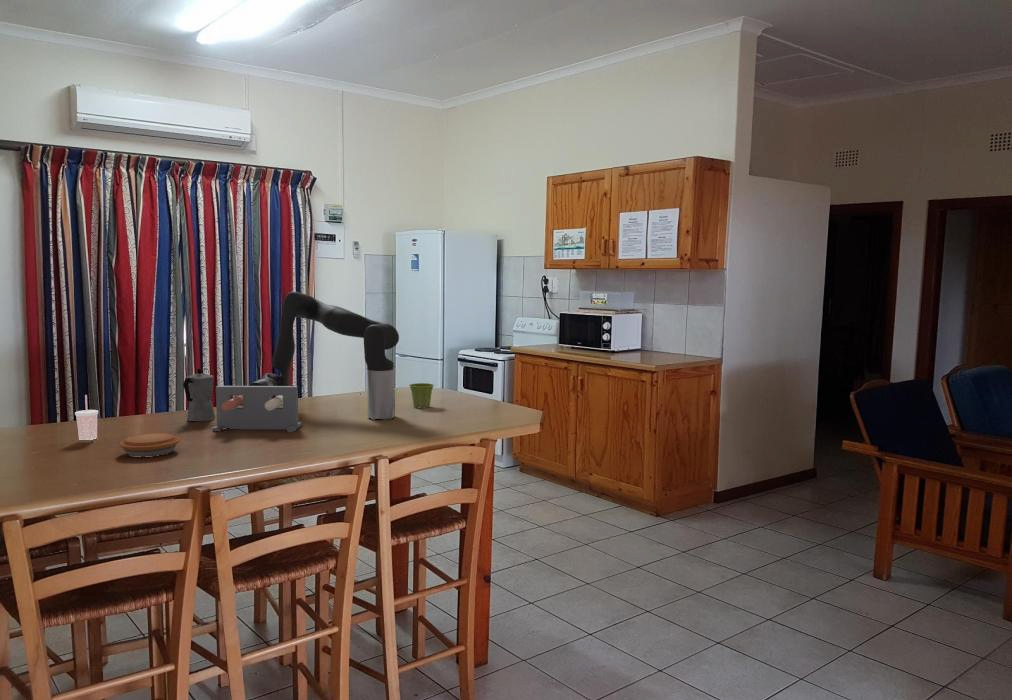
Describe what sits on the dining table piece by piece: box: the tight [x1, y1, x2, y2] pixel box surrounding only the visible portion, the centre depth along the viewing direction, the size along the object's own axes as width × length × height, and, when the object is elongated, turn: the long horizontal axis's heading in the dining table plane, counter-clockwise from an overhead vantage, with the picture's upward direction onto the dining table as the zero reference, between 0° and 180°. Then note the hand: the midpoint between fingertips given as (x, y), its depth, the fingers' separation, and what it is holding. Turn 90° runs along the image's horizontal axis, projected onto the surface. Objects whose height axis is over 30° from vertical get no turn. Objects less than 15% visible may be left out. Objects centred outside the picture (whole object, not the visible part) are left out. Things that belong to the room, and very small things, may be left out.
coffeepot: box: [182, 368, 216, 422], centre depth 255 cm, size 15×9×18 cm, turn 169°
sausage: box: [221, 395, 243, 411], centre depth 239 cm, size 5×15×5 cm, turn 0°
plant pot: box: [408, 382, 435, 408], centre depth 284 cm, size 9×9×9 cm
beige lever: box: [265, 396, 283, 411], centre depth 241 cm, size 5×15×5 cm, turn 0°
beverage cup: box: [74, 394, 99, 441], centre depth 223 cm, size 6×6×14 cm
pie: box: [119, 432, 181, 457], centre depth 208 cm, size 15×16×5 cm
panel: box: [211, 385, 303, 433], centre depth 242 cm, size 26×10×14 cm, turn 90°
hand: (243, 398), depth 247 cm, fingers closed
